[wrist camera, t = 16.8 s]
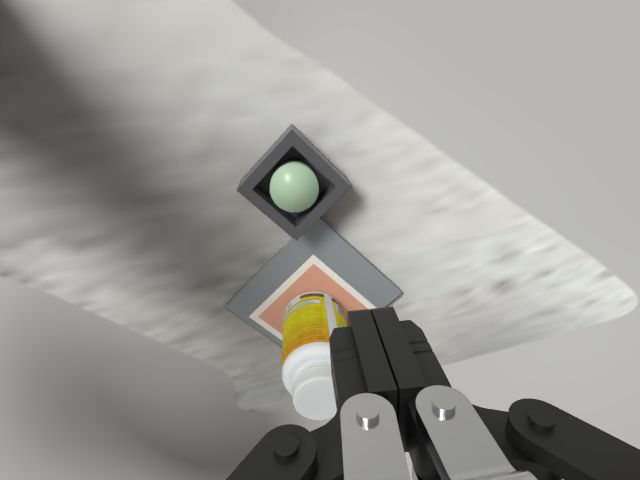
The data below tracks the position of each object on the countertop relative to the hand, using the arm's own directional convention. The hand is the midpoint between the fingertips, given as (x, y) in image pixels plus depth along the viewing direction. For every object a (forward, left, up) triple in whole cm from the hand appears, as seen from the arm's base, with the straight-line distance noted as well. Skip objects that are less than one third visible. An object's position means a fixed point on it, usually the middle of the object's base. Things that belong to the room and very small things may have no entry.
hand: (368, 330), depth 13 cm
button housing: (-2, -2, -20) cm, 21 cm away
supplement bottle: (+8, -10, -20) cm, 24 cm away
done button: (-2, -2, -19) cm, 19 cm away
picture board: (+7, -9, -20) cm, 23 cm away
